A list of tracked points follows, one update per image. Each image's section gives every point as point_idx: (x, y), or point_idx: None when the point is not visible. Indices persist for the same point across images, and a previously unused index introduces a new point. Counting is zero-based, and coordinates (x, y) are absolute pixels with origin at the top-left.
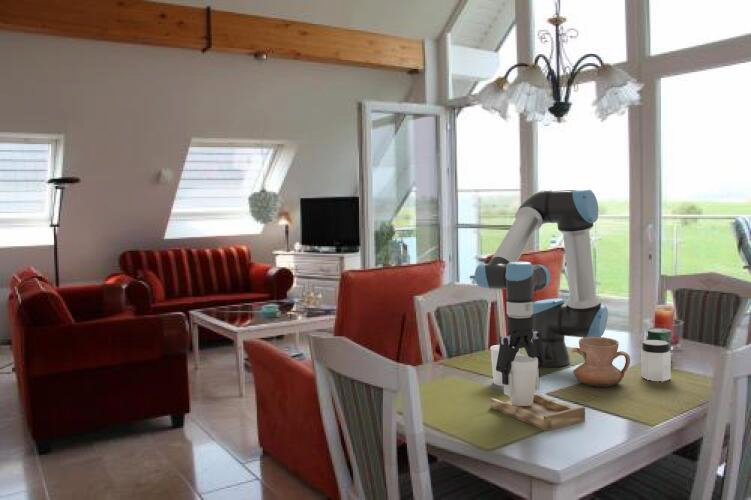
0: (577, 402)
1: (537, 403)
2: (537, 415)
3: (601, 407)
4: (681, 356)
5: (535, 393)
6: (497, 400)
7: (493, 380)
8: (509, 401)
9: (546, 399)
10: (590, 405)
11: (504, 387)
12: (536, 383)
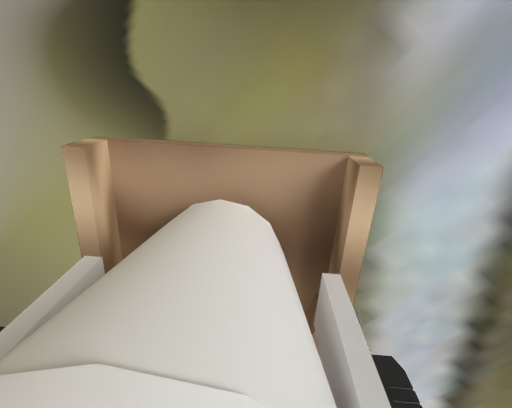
0: (488, 325)
1: (312, 266)
2: None
3: (484, 403)
4: None
5: (363, 243)
6: (81, 199)
7: None
8: (220, 155)
9: (316, 339)
10: (482, 372)
11: (52, 291)
12: (321, 361)
